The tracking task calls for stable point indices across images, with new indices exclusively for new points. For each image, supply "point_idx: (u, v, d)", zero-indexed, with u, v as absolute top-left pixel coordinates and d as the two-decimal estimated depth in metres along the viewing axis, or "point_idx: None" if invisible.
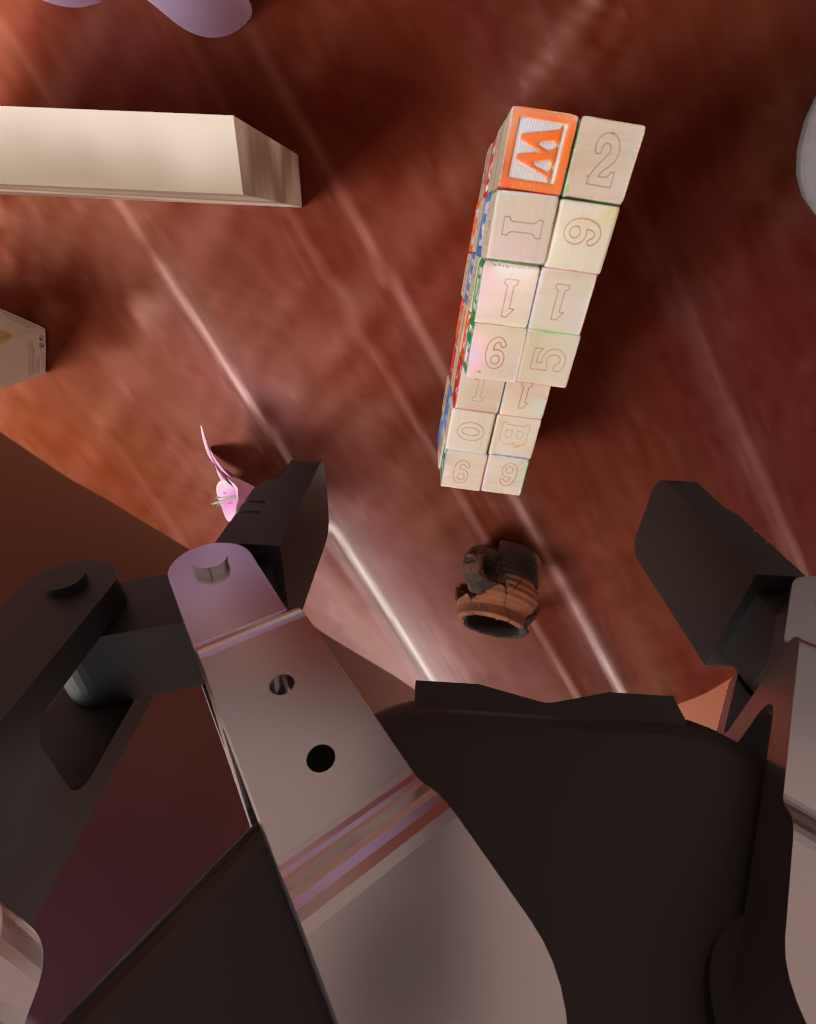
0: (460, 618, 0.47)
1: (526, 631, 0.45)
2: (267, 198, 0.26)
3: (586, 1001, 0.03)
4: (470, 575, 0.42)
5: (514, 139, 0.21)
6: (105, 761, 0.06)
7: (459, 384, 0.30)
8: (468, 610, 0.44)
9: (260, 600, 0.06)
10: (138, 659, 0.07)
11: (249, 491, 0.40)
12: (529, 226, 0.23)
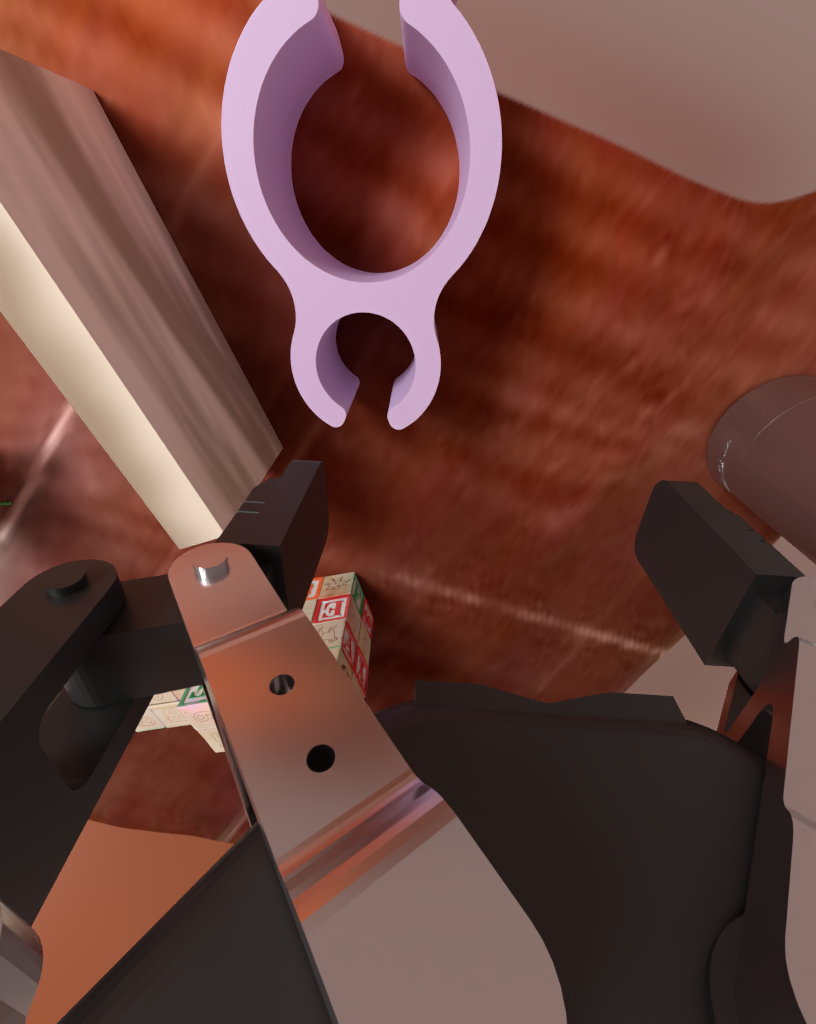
0: None
1: None
2: None
3: (586, 1001, 0.03)
4: None
5: None
6: (106, 760, 0.06)
7: None
8: None
9: (260, 600, 0.06)
10: (138, 659, 0.07)
11: None
12: None
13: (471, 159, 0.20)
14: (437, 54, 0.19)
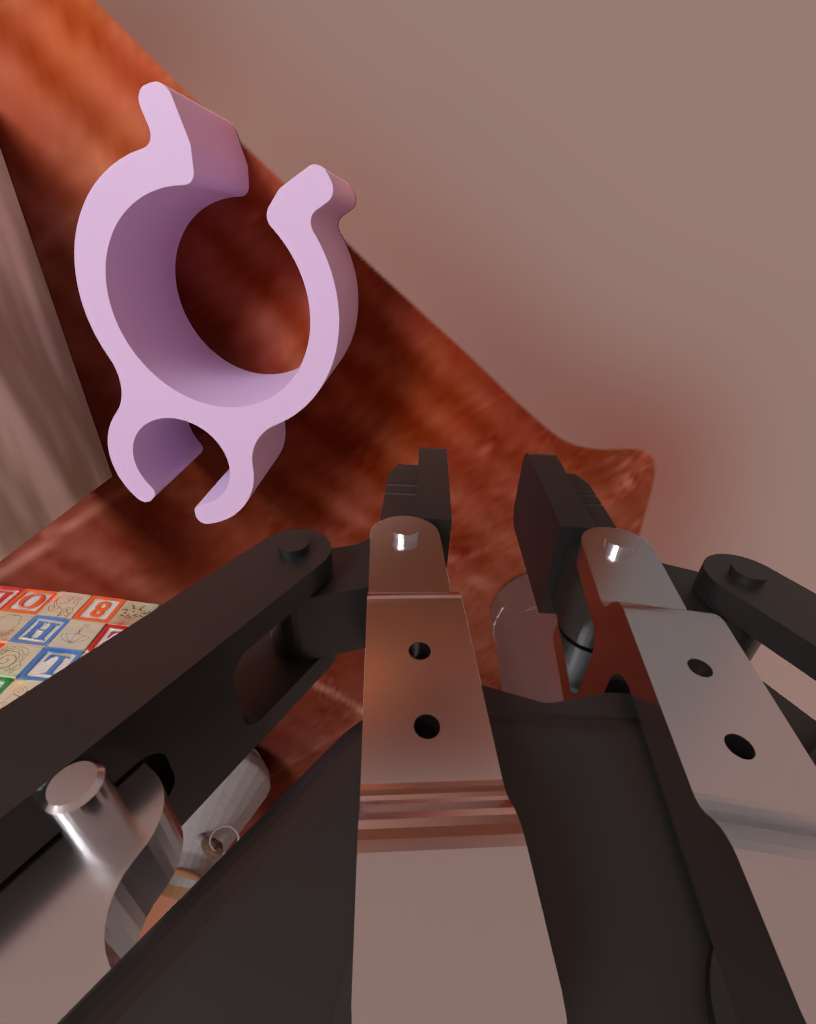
0: None
1: None
2: None
3: (586, 1001, 0.03)
4: None
5: None
6: (276, 709, 0.07)
7: None
8: None
9: (432, 576, 0.07)
10: (347, 617, 0.08)
11: None
12: None
13: (308, 348, 0.22)
14: None
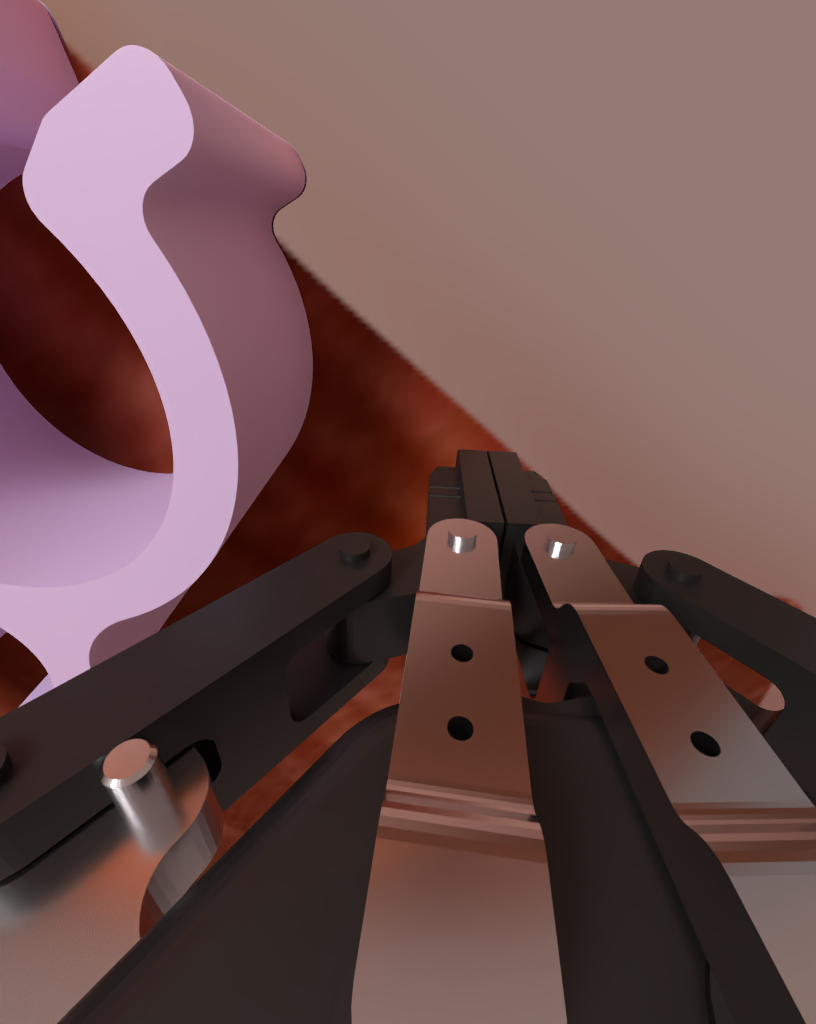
0: None
1: None
2: None
3: (586, 1001, 0.03)
4: None
5: None
6: (323, 709, 0.07)
7: None
8: None
9: (484, 581, 0.07)
10: (406, 620, 0.08)
11: None
12: None
13: (173, 494, 0.10)
14: None
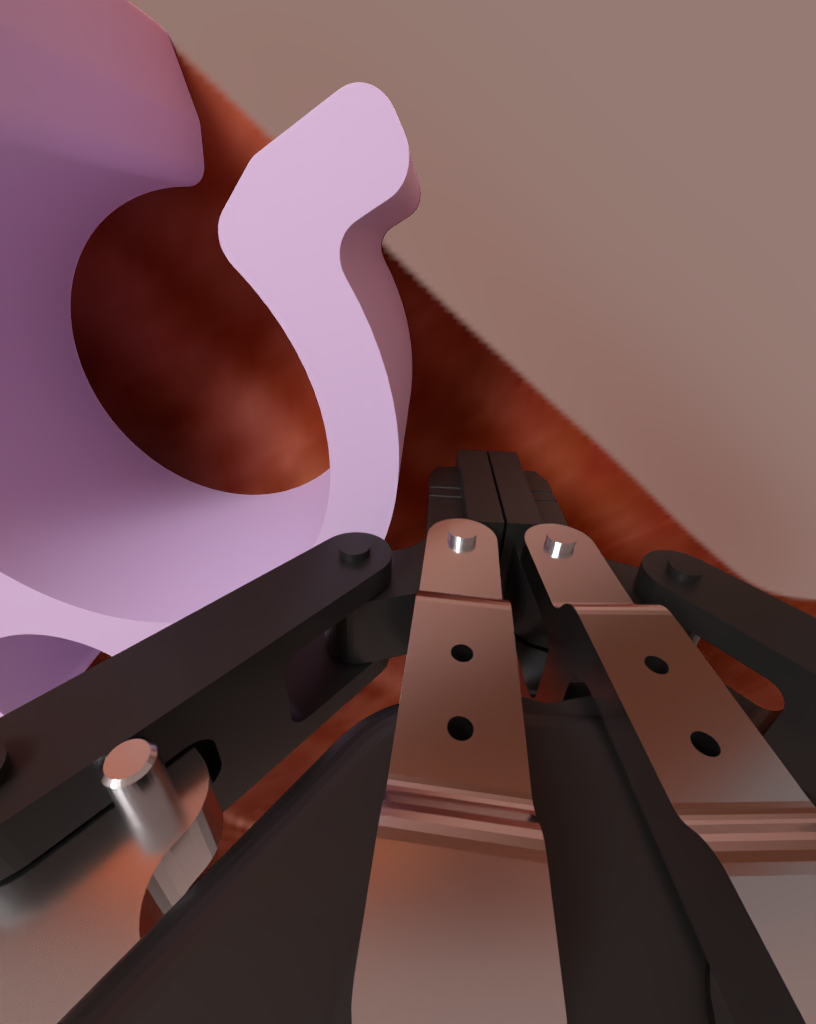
0: None
1: None
2: None
3: (586, 1001, 0.03)
4: None
5: None
6: (323, 709, 0.07)
7: None
8: None
9: (484, 582, 0.07)
10: (406, 620, 0.08)
11: None
12: None
13: (323, 529, 0.10)
14: None
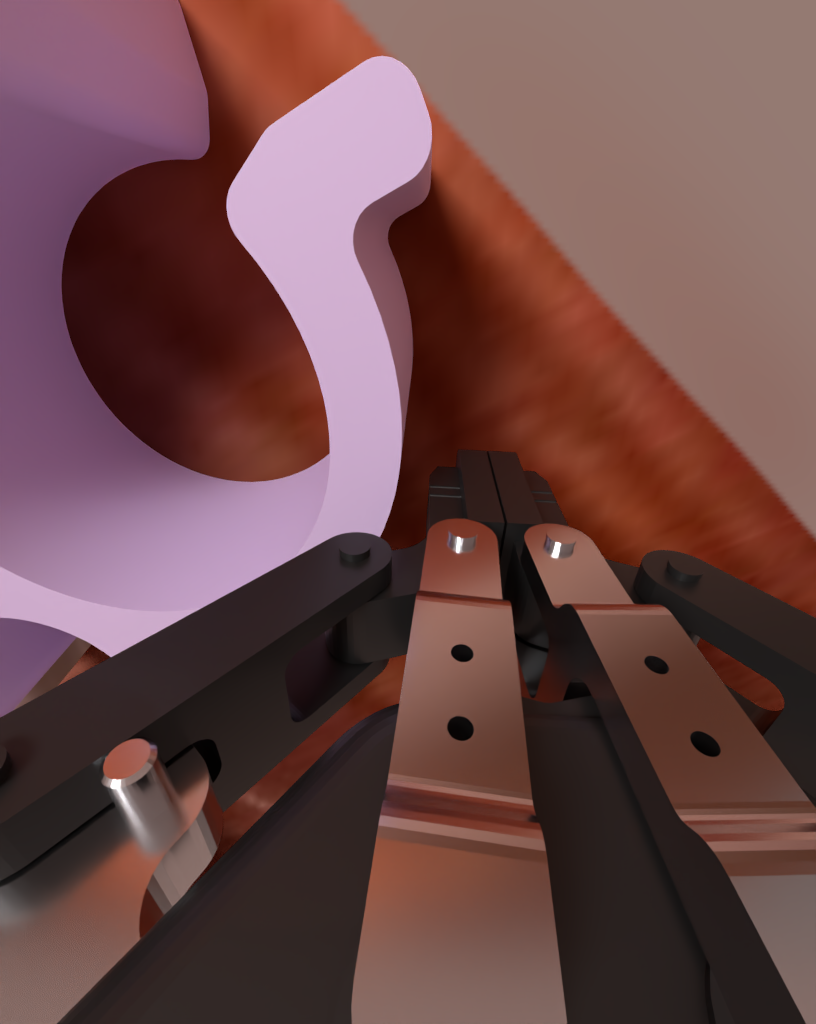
0: None
1: None
2: None
3: (586, 1001, 0.03)
4: None
5: None
6: (323, 709, 0.07)
7: None
8: None
9: (485, 582, 0.07)
10: (406, 620, 0.08)
11: None
12: None
13: (319, 522, 0.10)
14: None
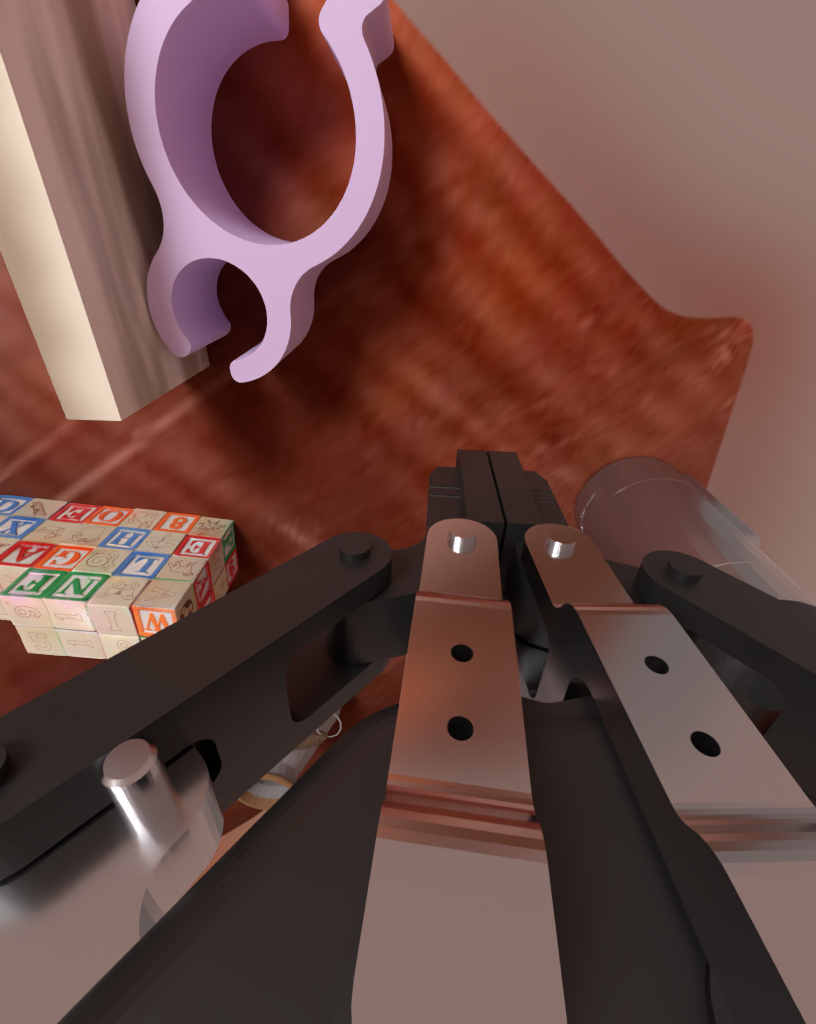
0: None
1: None
2: None
3: (586, 1001, 0.03)
4: None
5: (158, 611, 0.32)
6: (323, 709, 0.07)
7: (12, 566, 0.34)
8: None
9: (484, 581, 0.07)
10: (406, 620, 0.08)
11: None
12: (115, 624, 0.33)
13: (352, 175, 0.23)
14: None
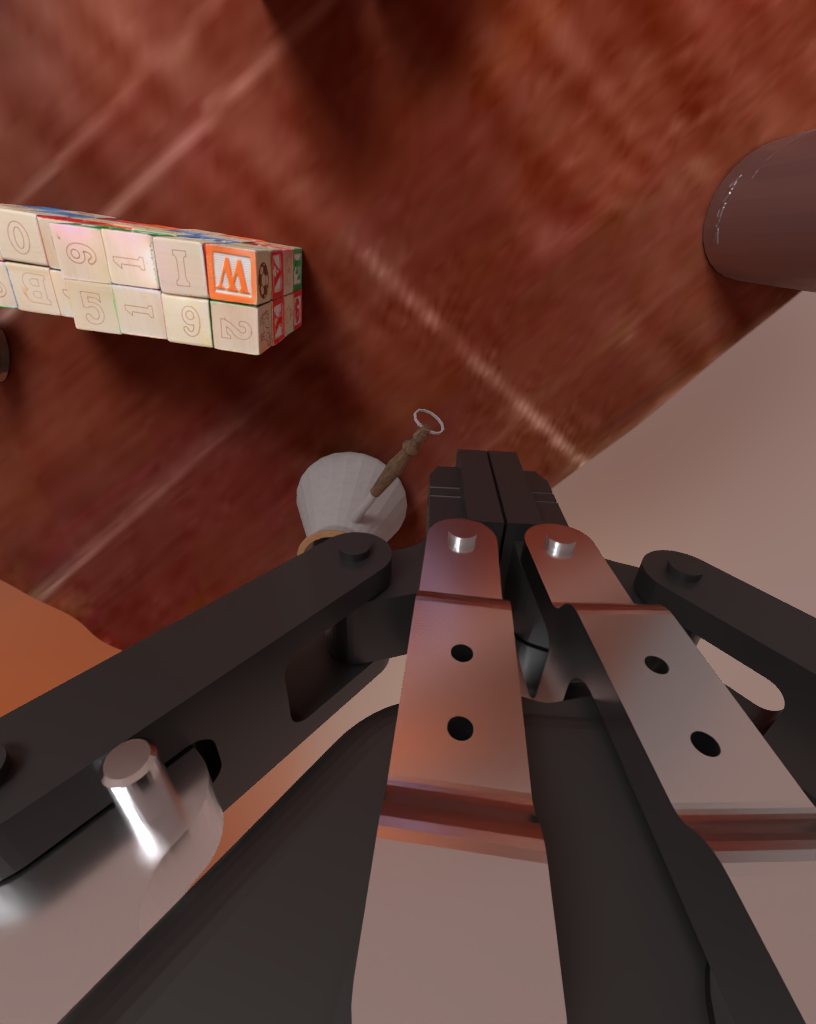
0: None
1: None
2: None
3: (586, 1001, 0.03)
4: None
5: (236, 254, 0.27)
6: (324, 709, 0.07)
7: (62, 220, 0.29)
8: None
9: (484, 581, 0.07)
10: (406, 620, 0.08)
11: None
12: (183, 274, 0.28)
13: None
14: None
